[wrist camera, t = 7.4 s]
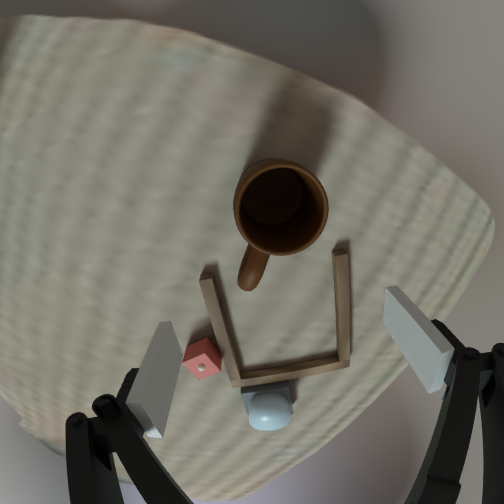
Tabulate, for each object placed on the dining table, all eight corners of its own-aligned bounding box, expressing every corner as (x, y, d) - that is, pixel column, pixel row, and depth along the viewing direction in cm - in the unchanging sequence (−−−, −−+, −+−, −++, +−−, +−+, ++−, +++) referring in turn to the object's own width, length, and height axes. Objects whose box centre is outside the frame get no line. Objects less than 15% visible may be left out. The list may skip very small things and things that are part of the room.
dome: (252, 418, 40) (252, 432, 37) (244, 395, 38) (244, 410, 35) (290, 413, 40) (292, 427, 37) (286, 389, 38) (288, 404, 35)
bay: (232, 380, 39) (232, 387, 38) (200, 275, 33) (198, 280, 32) (346, 360, 39) (349, 366, 37) (343, 249, 33) (347, 254, 31)
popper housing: (249, 411, 42) (249, 420, 40) (240, 384, 40) (240, 393, 38) (292, 405, 42) (293, 414, 40) (287, 377, 39) (289, 386, 37)
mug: (274, 271, 33) (284, 314, 25) (212, 248, 32) (200, 285, 24) (317, 175, 30) (346, 185, 21) (251, 147, 29) (254, 145, 20)
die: (201, 362, 38) (198, 382, 34) (186, 346, 37) (181, 365, 33) (222, 354, 38) (220, 373, 34) (207, 336, 36) (204, 355, 33)
